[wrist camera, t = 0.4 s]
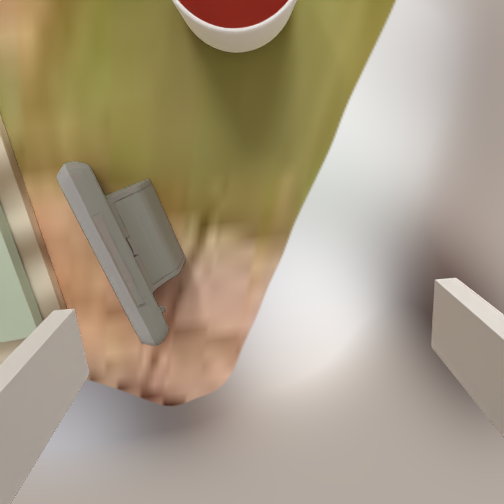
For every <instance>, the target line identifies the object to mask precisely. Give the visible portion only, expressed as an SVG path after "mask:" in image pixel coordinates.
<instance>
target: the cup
mask: <svg viewBox="0 0 504 504" xmlns="http://www.w3.org/2000/svg"><path fill="white" fill-rule="evenodd" d="M296 1H297V0H172V2H173V3H174V5H175V6H176V8H177V9H178V11H179V13H180V14H181V16H182V17H183V19H184V20H185V22H186V23H187V25H188V26H189V28H190V29H191V30H192V31H193V33H194V34H195V35H196V36H197V37H198V38H200V39H201V40H202V41H203V42H205V43H206V44H208V45H210V46H212V47H214V48H216V49H219V50H222V51H226V52H234V53H240V52H248V51H252V50H255V49H257V48H260V47H262V46H264V45H265V44H267V43H268V42H270V41H271V40H272V39H273V38H275V37H276V36H277V35H278V34H279V32H280V31H281V30H282V29H283V27H284V26H285V24H286V23H287V21H288V19H289V17H290V15H291V13H292V11H293V8H294V6H295V4H296Z"/></svg>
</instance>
